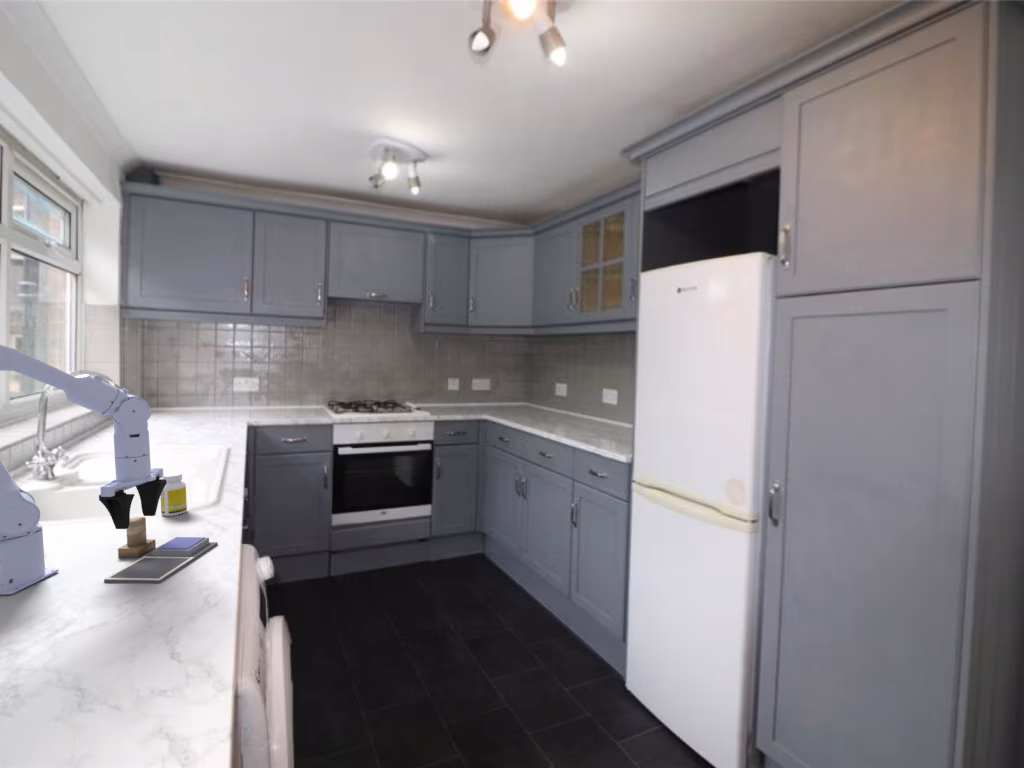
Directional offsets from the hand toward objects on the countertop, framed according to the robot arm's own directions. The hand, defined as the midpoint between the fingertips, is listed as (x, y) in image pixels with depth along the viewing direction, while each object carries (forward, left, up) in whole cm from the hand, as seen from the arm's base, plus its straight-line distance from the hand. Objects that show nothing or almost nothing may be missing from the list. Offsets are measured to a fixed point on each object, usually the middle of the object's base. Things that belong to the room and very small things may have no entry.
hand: (136, 521), depth 107 cm
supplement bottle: (+25, +9, -7) cm, 27 cm away
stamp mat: (-4, -8, -7) cm, 11 cm away
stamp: (0, 0, -7) cm, 7 cm away
